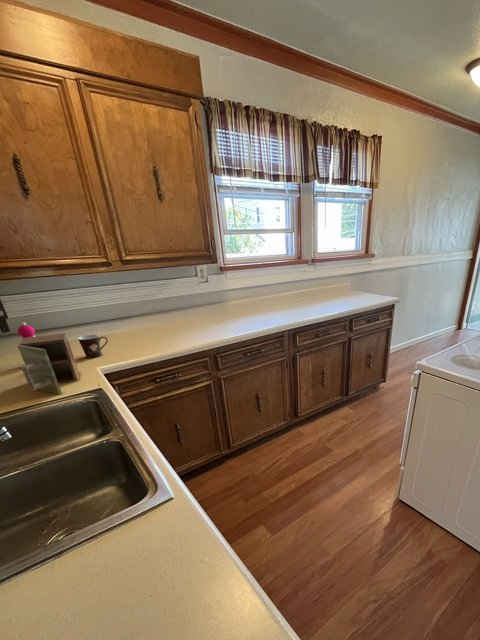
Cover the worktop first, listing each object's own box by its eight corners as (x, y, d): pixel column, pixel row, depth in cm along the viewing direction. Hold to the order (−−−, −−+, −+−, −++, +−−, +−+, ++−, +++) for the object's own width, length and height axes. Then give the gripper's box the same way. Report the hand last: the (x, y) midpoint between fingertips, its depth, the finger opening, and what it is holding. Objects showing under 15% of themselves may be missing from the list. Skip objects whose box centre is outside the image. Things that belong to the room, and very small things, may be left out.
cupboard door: (41, 402, 118) (21, 356, 110) (16, 396, 122) (-4, 351, 114) (62, 393, 124) (45, 349, 116) (37, 388, 129) (20, 345, 121)
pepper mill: (47, 360, 157) (31, 319, 148) (50, 364, 153) (34, 322, 144) (28, 364, 153) (11, 322, 144) (31, 368, 148) (13, 324, 139)
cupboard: (78, 381, 135) (63, 339, 127) (37, 388, 129) (19, 344, 121) (79, 373, 143) (65, 333, 135) (40, 379, 137) (23, 337, 129)
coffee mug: (83, 360, 158) (76, 340, 153) (85, 355, 165) (79, 335, 160) (109, 357, 162) (104, 337, 157) (111, 352, 169) (106, 333, 164)
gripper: (3, 278, 99) (23, 331, 106) (-16, 275, 106) (5, 325, 113) (-29, 280, 93) (-5, 336, 100) (-47, 277, 100) (-23, 329, 107)
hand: (0, 330), depth 107 cm, fingers open, 8 cm apart
